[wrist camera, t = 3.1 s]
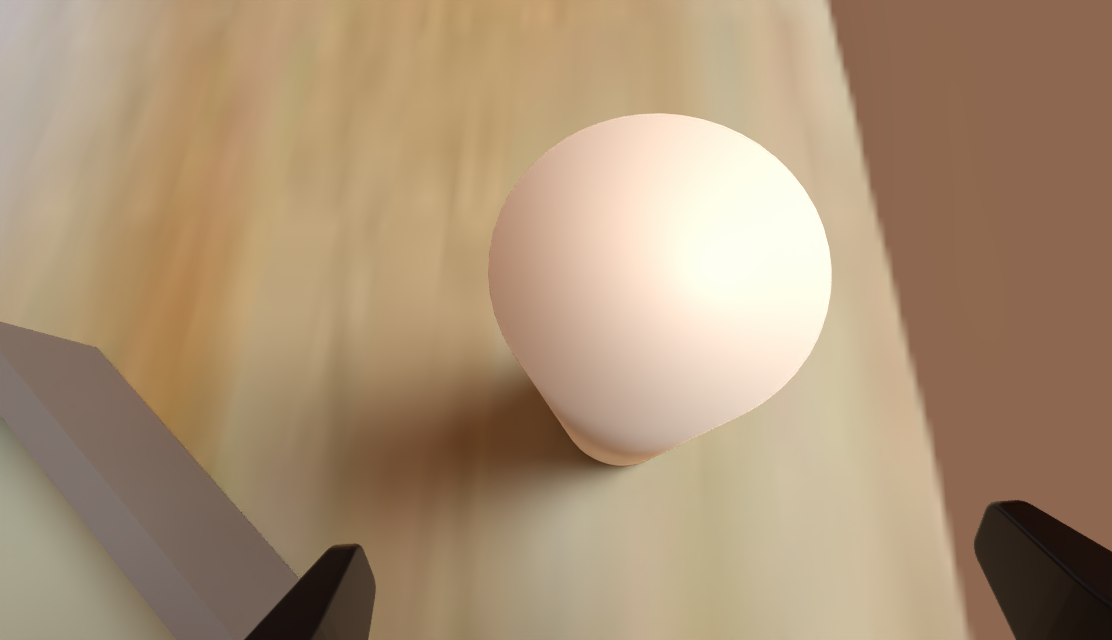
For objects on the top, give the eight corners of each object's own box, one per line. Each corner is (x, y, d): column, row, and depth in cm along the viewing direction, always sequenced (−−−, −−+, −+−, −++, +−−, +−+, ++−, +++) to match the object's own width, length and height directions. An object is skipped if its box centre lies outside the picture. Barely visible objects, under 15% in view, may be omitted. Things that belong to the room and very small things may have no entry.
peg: (700, 442, 19) (893, 365, 6) (582, 482, 19) (545, 483, 6) (656, 328, 20) (749, 74, 8) (544, 365, 20) (451, 170, 8)
